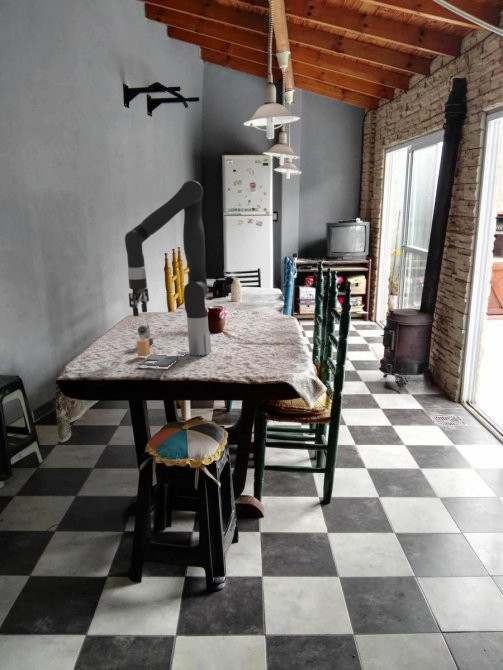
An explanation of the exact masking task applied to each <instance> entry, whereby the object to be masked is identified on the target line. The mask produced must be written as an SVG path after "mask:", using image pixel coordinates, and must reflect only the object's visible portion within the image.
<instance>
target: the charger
mask: <svg viewBox="0 0 503 670" xmlns="http://www.w3.org/2000/svg"><path fill="white" fill-rule="evenodd" d="M149 339H150V338H149ZM149 339H141V338H139V339H138V340H137V341H136V347H137V357H138V356H147V355H149V354H150V355H151V347H150V346H149Z"/></svg>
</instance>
